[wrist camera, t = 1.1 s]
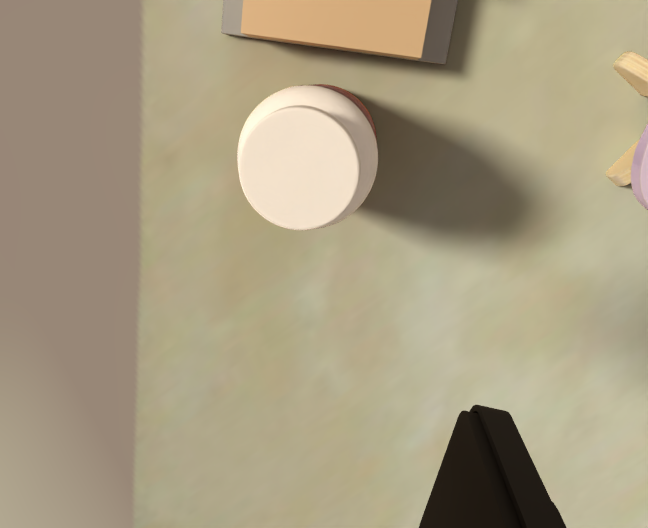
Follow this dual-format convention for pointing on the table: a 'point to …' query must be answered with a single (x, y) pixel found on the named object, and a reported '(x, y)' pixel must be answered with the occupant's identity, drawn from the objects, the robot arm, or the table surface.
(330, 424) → the table surface
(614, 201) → the table surface
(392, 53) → the stand
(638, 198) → the toy table
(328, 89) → the pill bottle
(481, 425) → the robot arm
